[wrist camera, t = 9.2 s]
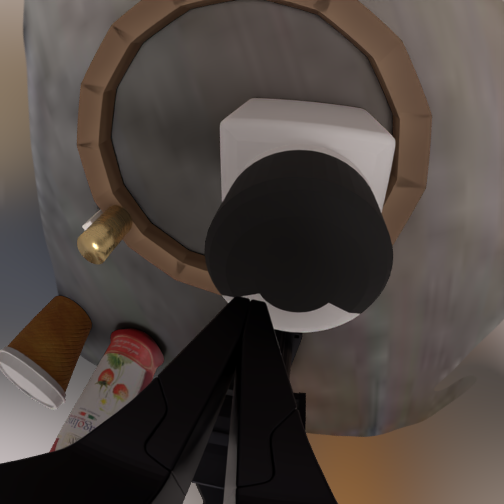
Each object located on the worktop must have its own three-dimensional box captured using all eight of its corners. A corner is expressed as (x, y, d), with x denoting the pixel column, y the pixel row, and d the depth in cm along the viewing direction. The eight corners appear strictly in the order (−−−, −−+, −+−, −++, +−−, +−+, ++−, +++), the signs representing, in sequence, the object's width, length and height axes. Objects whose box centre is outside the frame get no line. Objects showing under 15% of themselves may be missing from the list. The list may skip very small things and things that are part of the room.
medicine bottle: (248, 96, 17) (166, 159, 7) (367, 108, 16) (446, 188, 7) (247, 200, 21) (194, 340, 12) (351, 211, 20) (377, 360, 11)
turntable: (452, 229, 19) (481, 278, 15) (196, 312, 29) (178, 359, 24) (315, -79, 9) (317, -120, 5) (46, 104, 18) (-4, 126, 14)
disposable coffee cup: (33, 289, 33) (-16, 355, 24) (70, 280, 30) (12, 362, 20) (73, 339, 38) (35, 404, 28) (116, 338, 35) (75, 418, 25)
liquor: (161, 326, 31) (65, 571, 9) (174, 364, 36) (103, 571, 13) (105, 314, 32) (2, 526, 10) (124, 352, 37) (44, 538, 14)
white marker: (106, 205, 23) (90, 220, 21) (122, 227, 24) (108, 244, 22) (98, 210, 24) (82, 226, 22) (114, 232, 25) (99, 249, 23)
